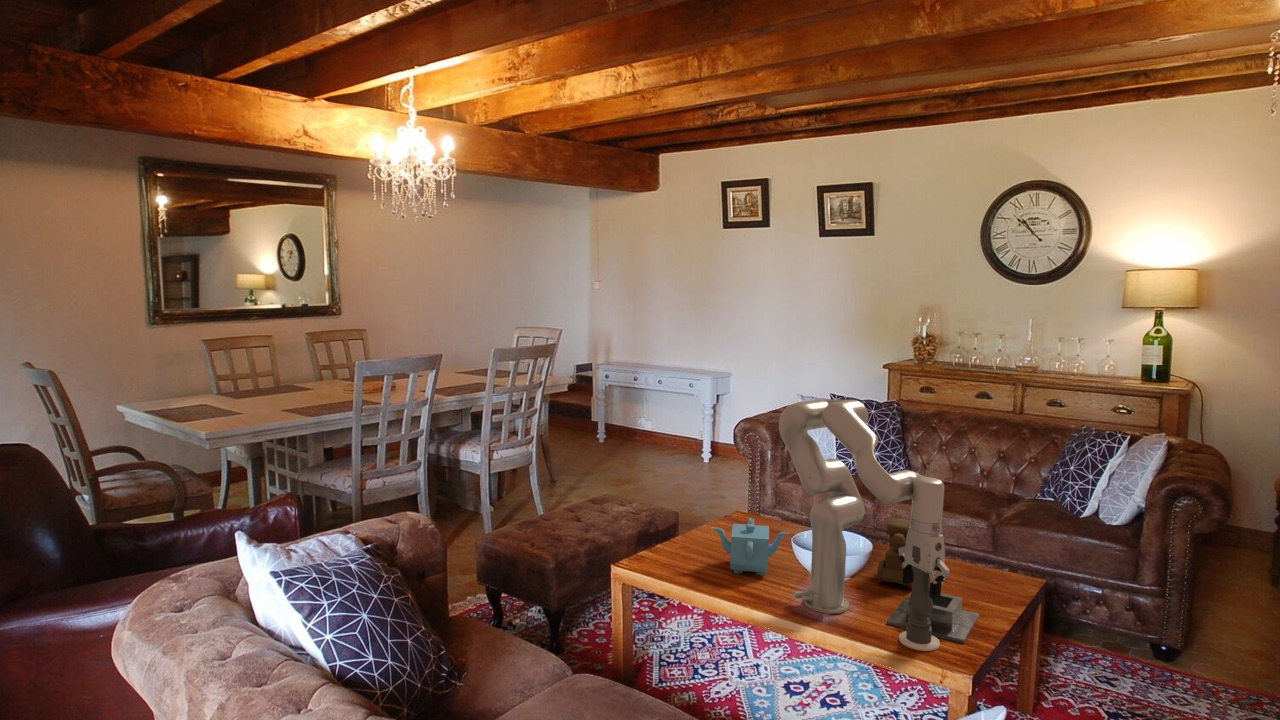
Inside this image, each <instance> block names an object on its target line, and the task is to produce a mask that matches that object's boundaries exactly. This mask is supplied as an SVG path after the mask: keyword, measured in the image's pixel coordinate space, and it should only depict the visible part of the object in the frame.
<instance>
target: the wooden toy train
mask: <svg viewBox="0 0 1280 720" xmlns="http://www.w3.org/2000/svg"><path fill="white" fill-rule="evenodd" d="M910 522H911V519H909V520H908V519H905V518H904V519H903V518H902V519H901V518H892V519H890V520H889V521H888V522H887V524H886V525H887V526H886V535H888V536H889V541H888V542H889V548H888V550H887V551H886V552H885V555H884V559H881V560H879V562H878V566H877V572H876V578H877V581H878V582H879V583H880V584H882V583H884V582H885V581H886V582H889V583H894V584H900V585H905V586H907V587H908V589H911V590H912V588H913V585H914V578H913V582H912V583H906V584H904V583H902V579H903V569H904V568H902V562H901V560H900V555H899V551H898V548H900V547H905V544H906V538H907V533H908V530H909V527H910ZM912 567H913V566H912ZM914 575H915V573H914Z"/></svg>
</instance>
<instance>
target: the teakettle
mask: <svg viewBox="0 0 1280 720" xmlns="http://www.w3.org/2000/svg"><path fill="white" fill-rule="evenodd" d="M754 522H755V519H754V518H753V517H749V518H748V523H745V524H744V523H732V529H731V535H730V541H729V540H728V538H727V536H726V533H725V531H724V530H723V528H720V527H718V526H717V527H716V526H712V527H711V529H712V530H714V531H716V532H717V534H718V536H719V538H720V541H721V545H722V547H723V549H724V551H725V552H726V553H728V554H730V556H729V557H730V560H729V561H730V562H729V570H730V571H732V573H733V572H734V573H733V574H735V573H736V574H737V575H741V574H743V572H752V573H755V575H756V574H757V576H759V575H763V576H765V575H766V574H767V573H769V557H772V556H773V555H775V554H776V552H777V551H778V549H779V547H780V544H781V541H782V539H783V538H784V537H785V536H787V535H790V532H788V531H782V532H779V533H778V534H776V537H775V539H774V541H773V542H772V543H771V544H770V527H769V525H759V524H758V525H757V524H755V523H754ZM740 573H741V574H740Z"/></svg>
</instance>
